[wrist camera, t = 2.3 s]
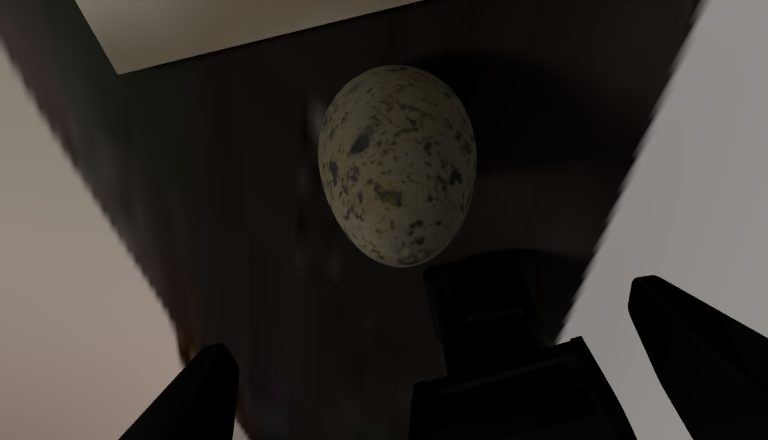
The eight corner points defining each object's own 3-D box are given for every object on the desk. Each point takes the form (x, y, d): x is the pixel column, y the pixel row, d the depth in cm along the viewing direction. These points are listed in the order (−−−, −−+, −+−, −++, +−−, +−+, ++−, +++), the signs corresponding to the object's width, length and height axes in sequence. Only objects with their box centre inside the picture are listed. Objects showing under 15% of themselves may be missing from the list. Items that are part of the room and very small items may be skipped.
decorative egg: (473, 58, 18) (553, 170, 10) (437, 177, 22) (476, 332, 14) (336, 31, 18) (304, 129, 10) (321, 159, 21) (289, 311, 13)
